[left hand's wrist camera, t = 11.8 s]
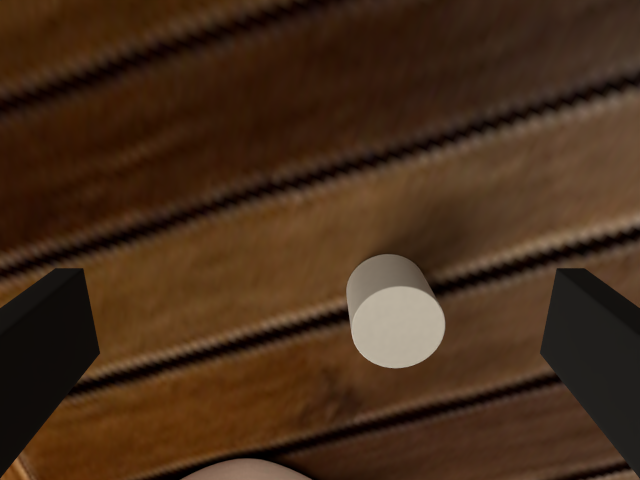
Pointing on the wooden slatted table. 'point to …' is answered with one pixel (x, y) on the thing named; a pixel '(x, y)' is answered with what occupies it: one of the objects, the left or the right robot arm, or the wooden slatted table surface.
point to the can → (393, 312)
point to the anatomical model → (246, 471)
